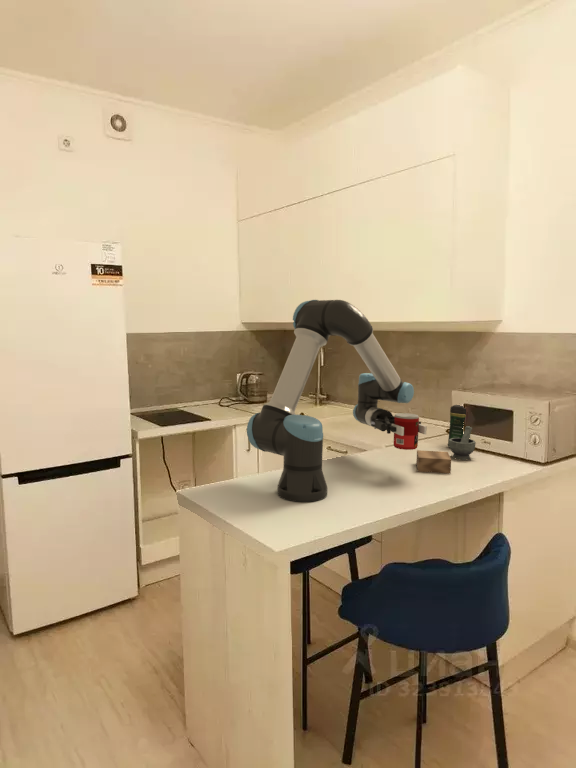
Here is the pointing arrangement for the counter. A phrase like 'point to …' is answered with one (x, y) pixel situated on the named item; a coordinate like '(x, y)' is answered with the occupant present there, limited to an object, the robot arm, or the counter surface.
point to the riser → (433, 461)
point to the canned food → (407, 431)
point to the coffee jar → (456, 421)
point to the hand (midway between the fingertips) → (414, 430)
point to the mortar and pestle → (462, 445)
